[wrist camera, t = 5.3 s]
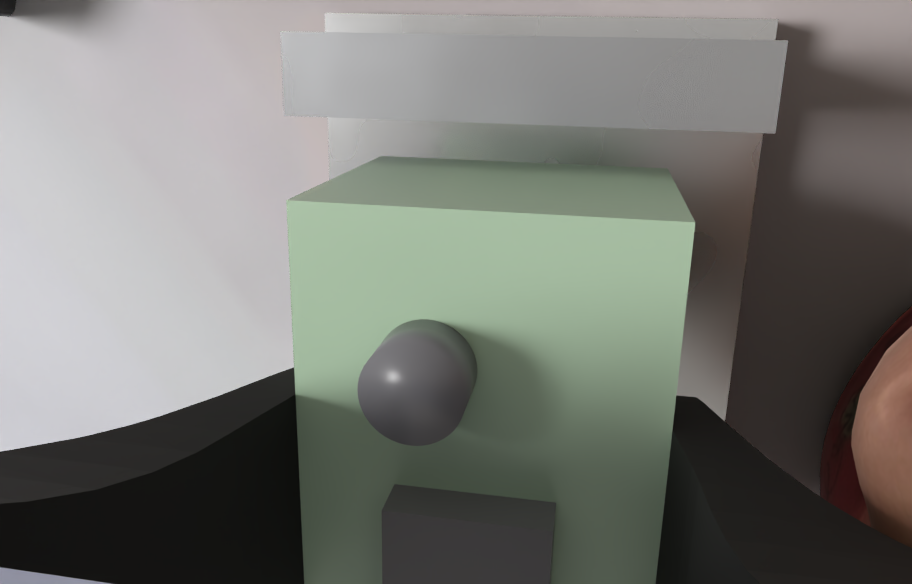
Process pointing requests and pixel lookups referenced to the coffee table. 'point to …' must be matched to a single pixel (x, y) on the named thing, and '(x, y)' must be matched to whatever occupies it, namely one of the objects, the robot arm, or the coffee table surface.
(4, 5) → the disk drive
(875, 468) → the decorative planter
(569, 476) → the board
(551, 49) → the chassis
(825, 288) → the coffee table surface
